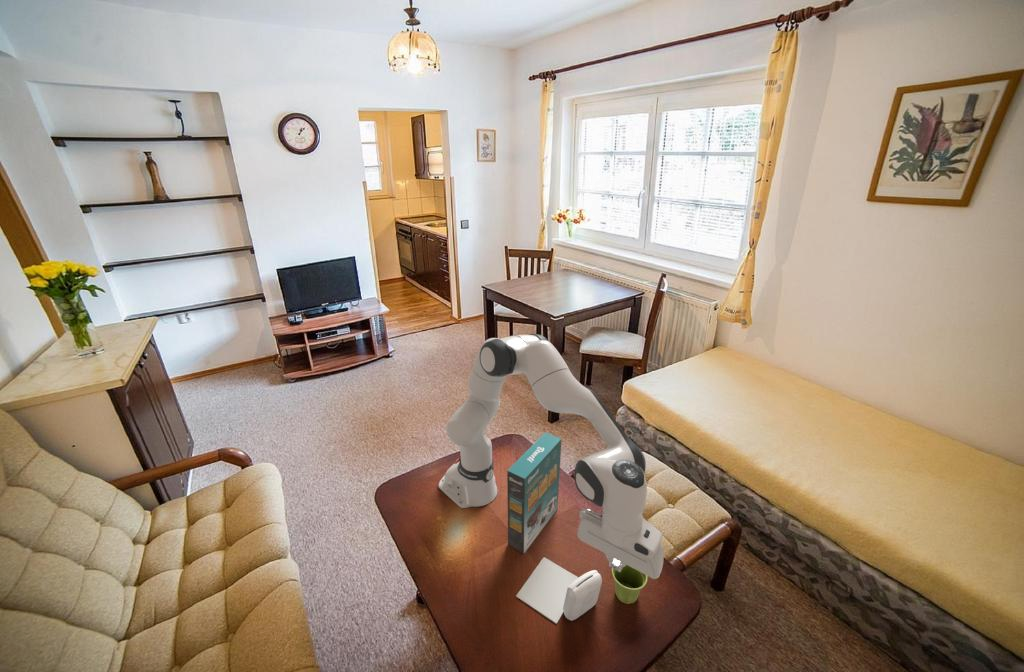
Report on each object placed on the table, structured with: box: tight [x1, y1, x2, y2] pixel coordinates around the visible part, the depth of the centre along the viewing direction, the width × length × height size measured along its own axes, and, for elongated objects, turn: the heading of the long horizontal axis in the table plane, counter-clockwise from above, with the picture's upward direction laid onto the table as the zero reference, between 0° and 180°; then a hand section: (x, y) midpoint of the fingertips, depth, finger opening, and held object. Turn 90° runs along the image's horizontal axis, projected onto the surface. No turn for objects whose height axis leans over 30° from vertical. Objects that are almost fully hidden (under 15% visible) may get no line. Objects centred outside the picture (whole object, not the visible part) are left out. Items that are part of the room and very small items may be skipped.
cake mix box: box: [506, 431, 562, 555], centre depth 133 cm, size 22×6×30 cm, turn 146°
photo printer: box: [563, 569, 603, 622], centre depth 111 cm, size 10×4×12 cm, turn 123°
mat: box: [515, 557, 579, 625], centre depth 119 cm, size 13×15×1 cm
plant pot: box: [611, 565, 648, 605], centre depth 116 cm, size 9×9×9 cm
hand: (615, 567), depth 101 cm, fingers closed
